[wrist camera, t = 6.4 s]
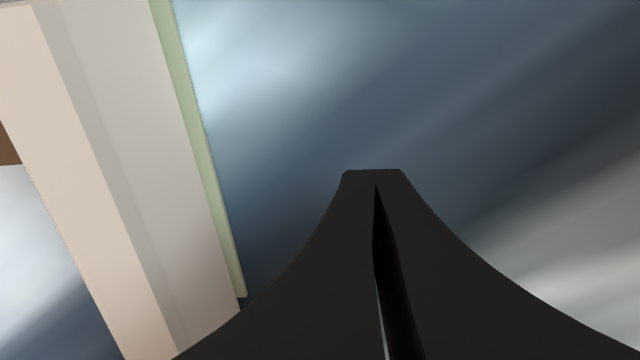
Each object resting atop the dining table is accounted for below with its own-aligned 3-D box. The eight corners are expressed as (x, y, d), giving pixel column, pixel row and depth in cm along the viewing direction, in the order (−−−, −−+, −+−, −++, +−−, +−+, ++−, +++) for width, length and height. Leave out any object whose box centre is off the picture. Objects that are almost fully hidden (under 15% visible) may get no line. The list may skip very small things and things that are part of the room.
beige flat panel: (244, 314, 17) (215, 440, 13) (207, 317, 17) (167, 442, 13) (141, -36, 11) (30, 5, 7) (84, -28, 11) (-55, 15, 7)
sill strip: (165, -18, 12) (162, -17, 12) (247, 293, 17) (246, 296, 17) (105, -11, 12) (102, -9, 12) (205, 295, 17) (204, 299, 17)
